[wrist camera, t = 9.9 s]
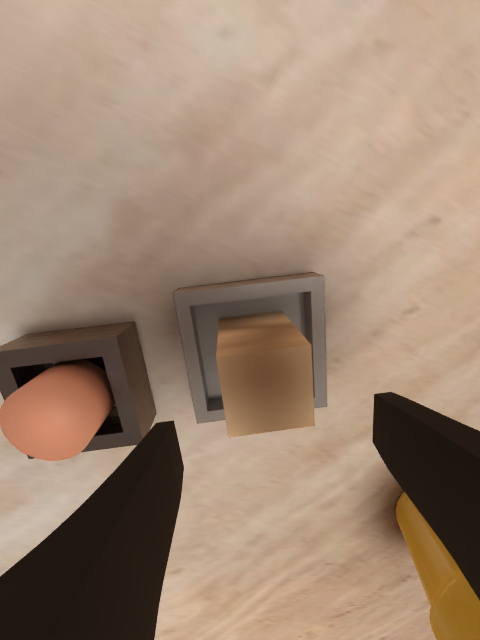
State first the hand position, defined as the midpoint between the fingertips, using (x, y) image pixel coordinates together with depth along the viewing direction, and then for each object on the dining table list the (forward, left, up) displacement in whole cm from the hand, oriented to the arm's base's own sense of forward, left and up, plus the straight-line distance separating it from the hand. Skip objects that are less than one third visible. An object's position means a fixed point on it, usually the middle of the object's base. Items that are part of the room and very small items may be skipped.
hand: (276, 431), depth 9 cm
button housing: (-11, -1, -9) cm, 14 cm away
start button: (-11, -1, -7) cm, 13 cm away
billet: (0, 0, -8) cm, 8 cm away
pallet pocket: (0, 0, -9) cm, 9 cm away
